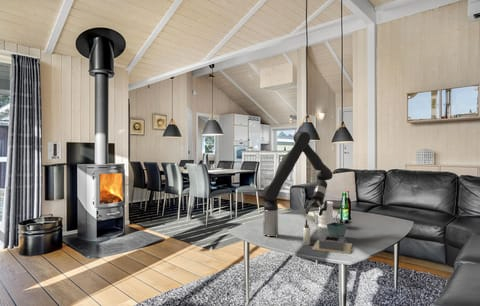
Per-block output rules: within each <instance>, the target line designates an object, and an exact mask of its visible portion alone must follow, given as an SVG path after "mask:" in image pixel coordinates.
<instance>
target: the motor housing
mask: <svg viewBox="0 0 480 306" xmlns="http://www.w3.org/2000/svg"><path fill="white" fill-rule="evenodd" d="M352 247H353V243H347V242H346V236H344V237H340V236H330V235H329V234H322V235H321V237H320V238H319V239H317V240H316V242H315V243H314V245H313V246H312V247H311V249H312V250H313V251H320V252H321V251H323V252H329V253H340V254H347V255H348V254H349V255H351V251H352Z"/></svg>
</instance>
